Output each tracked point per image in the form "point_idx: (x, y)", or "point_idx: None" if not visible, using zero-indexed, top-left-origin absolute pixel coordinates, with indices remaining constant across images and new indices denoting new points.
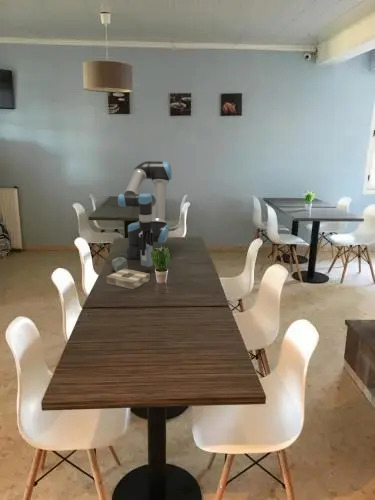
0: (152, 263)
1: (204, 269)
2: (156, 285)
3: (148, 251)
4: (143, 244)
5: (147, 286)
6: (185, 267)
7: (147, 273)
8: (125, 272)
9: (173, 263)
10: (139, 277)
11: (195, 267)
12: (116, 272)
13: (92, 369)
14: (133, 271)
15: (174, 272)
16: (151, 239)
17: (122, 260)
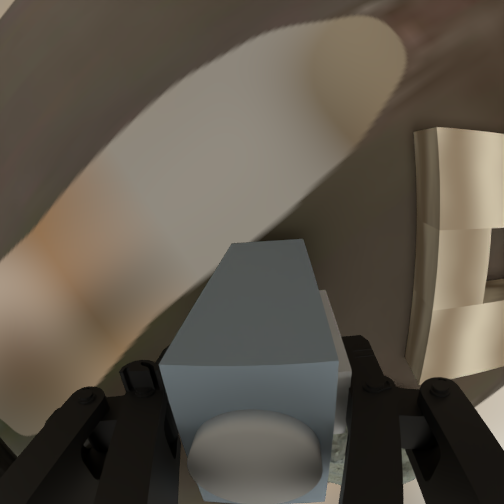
0: (237, 247)
1: (25, 15)
2: (452, 43)
3: (324, 319)
4: (462, 464)
5: (495, 89)
6: (35, 110)
7: (441, 150)
8: (487, 320)
9: (24, 228)
10: None
11: (15, 70)
12: (498, 363)
13: None
14: (453, 288)
15: (146, 86)
16: (55, 489)
17: None
